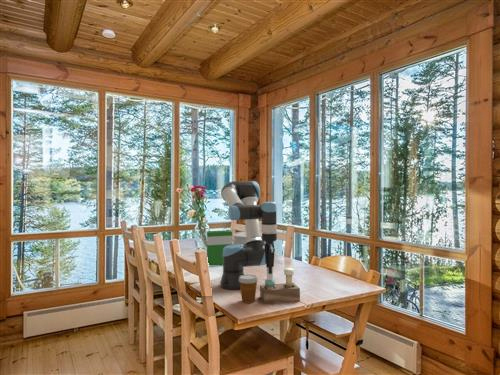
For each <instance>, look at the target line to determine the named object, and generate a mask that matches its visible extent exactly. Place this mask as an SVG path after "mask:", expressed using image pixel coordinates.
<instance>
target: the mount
mask: <svg viewBox="0 0 500 375" xmlns="http://www.w3.org/2000/svg"><path fill="white" fill-rule="evenodd" d="M259 297H260V300H262V302H263V303H264V304H272V303H273V304H274V303H283V302H284V303H287V302H298V301H301V288H300V287H299V286H298V285H297V284H296V283H294V282H292V287H291V288H287V287H286V282H285V283H275V286H273V289H267V286H265V284H259Z"/></svg>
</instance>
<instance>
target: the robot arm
mask: <svg viewBox="0 0 500 375" xmlns="http://www.w3.org/2000/svg"><path fill="white" fill-rule="evenodd" d="M220 195H221V198H222V199H223V201H225V202H226V204H227V205H228V219H229V220H230V221H244V226H245V230H246V235H247V242H246V243H245V246H243V244H233V243H232V244H231V245H227V246H225V247H224V248H223V265H222V275H221V279H220V282H219V284H220V285H219V286H220V288H221V289H225V290H239V289H240V282H239V277H240V276H242V275H245V273H244V268H245V267H260V266H266V279H267V280H273V279H274V278H273V277H274V275H273V274H274V273H273V272H274V270H273V269H274V268H273V267H275V251H276V248H275V245H274V242H276V241H277V239H278V235H277V228H278V225H277V210H278V208H277V203H276V202H275V201H263V202H261V204H257V203H258V202H259V199H260V198H261V189H260V185H259V183H258V182H257V181H255V180H253V181H252V180H246V181H245V180H244V181H243V180H242V181H240V180H239V181H237V180H236V181H230V182H228V183H226V184H224V185H223V187H222V188H221V190H220ZM260 220H261V225H260ZM261 233H262V239H261ZM265 241H266V244H265ZM240 290H241V289H240Z"/></svg>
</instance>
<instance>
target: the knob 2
mask: <svg viewBox="0 0 500 375" xmlns="http://www.w3.org/2000/svg"><path fill="white" fill-rule="evenodd" d="M294 270H295V269H294V268H292V267H286V268H284V269H283V275H285V283H286V287H287V288H291V287H292V283H293V275H294V274H295V271H294Z"/></svg>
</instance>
